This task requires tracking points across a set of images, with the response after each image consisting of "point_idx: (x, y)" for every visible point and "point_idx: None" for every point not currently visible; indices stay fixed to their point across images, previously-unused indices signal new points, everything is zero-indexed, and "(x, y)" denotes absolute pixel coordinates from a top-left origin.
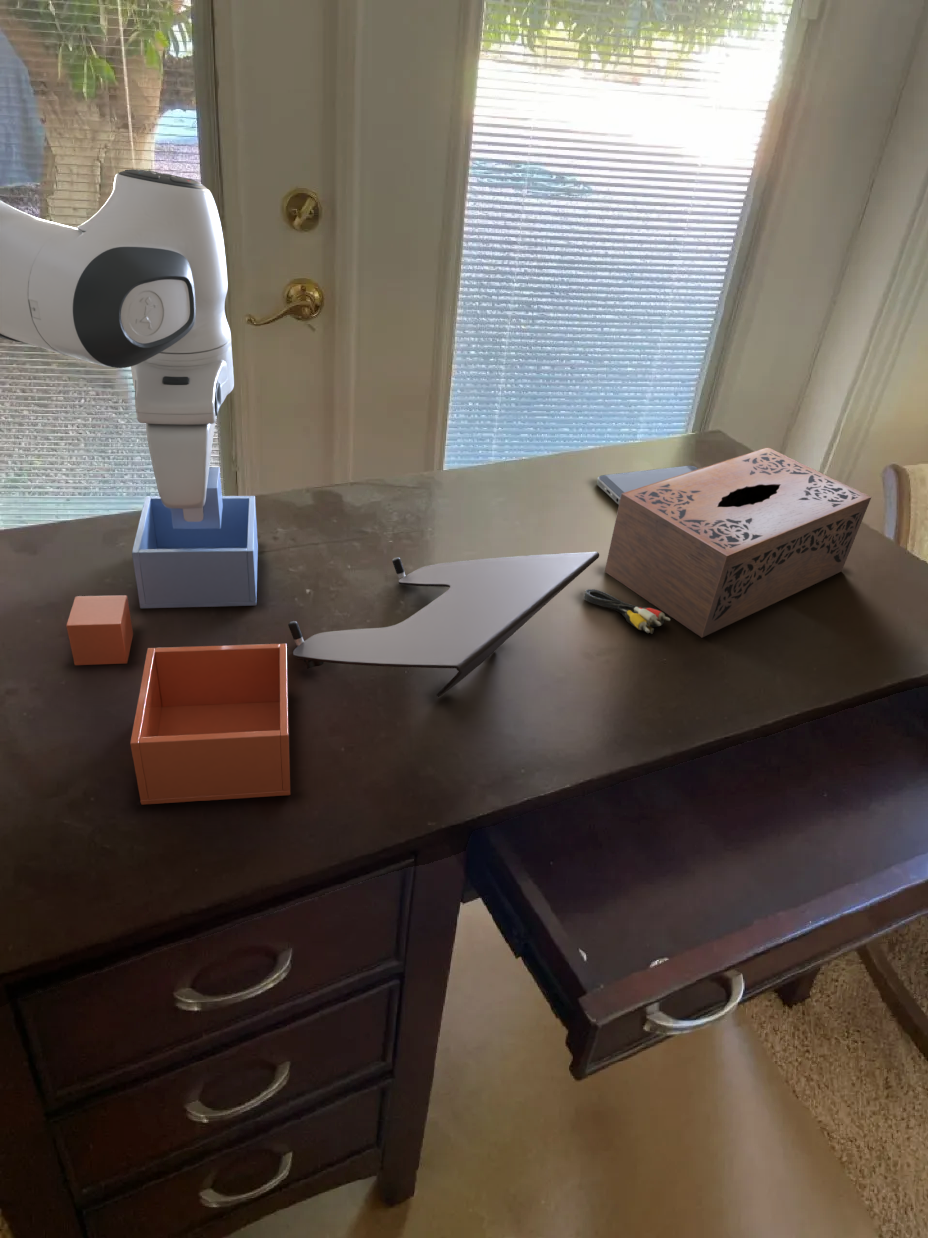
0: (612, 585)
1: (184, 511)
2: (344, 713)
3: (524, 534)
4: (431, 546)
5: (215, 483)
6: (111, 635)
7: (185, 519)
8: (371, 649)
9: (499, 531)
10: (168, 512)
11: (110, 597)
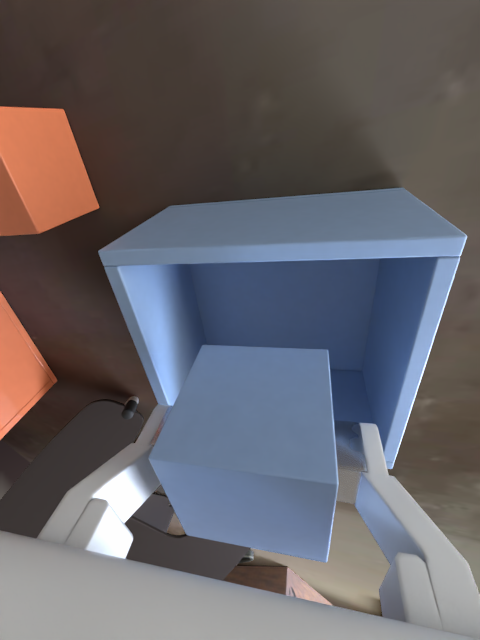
0: (268, 562)
1: (144, 428)
2: (64, 412)
3: (355, 558)
4: (342, 510)
5: (212, 538)
6: None
7: (158, 406)
8: (47, 484)
9: (365, 550)
10: (407, 283)
11: (15, 200)
